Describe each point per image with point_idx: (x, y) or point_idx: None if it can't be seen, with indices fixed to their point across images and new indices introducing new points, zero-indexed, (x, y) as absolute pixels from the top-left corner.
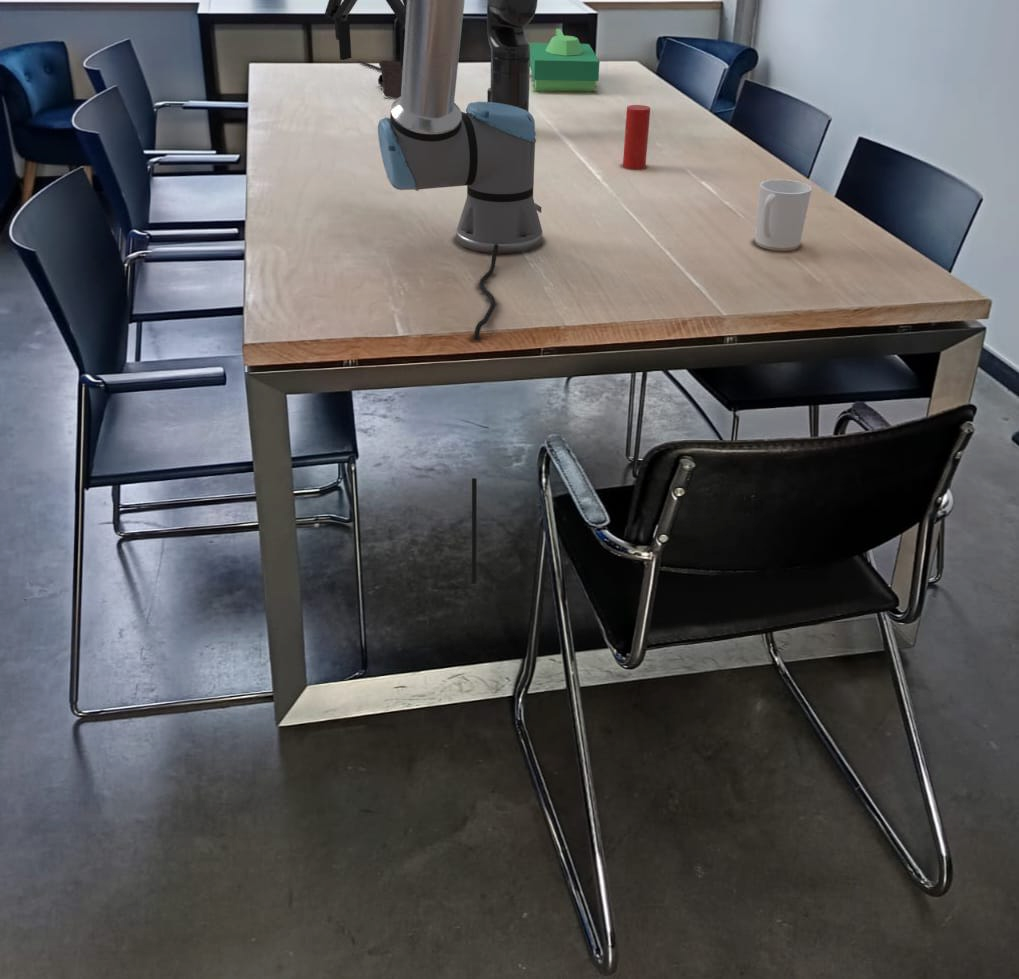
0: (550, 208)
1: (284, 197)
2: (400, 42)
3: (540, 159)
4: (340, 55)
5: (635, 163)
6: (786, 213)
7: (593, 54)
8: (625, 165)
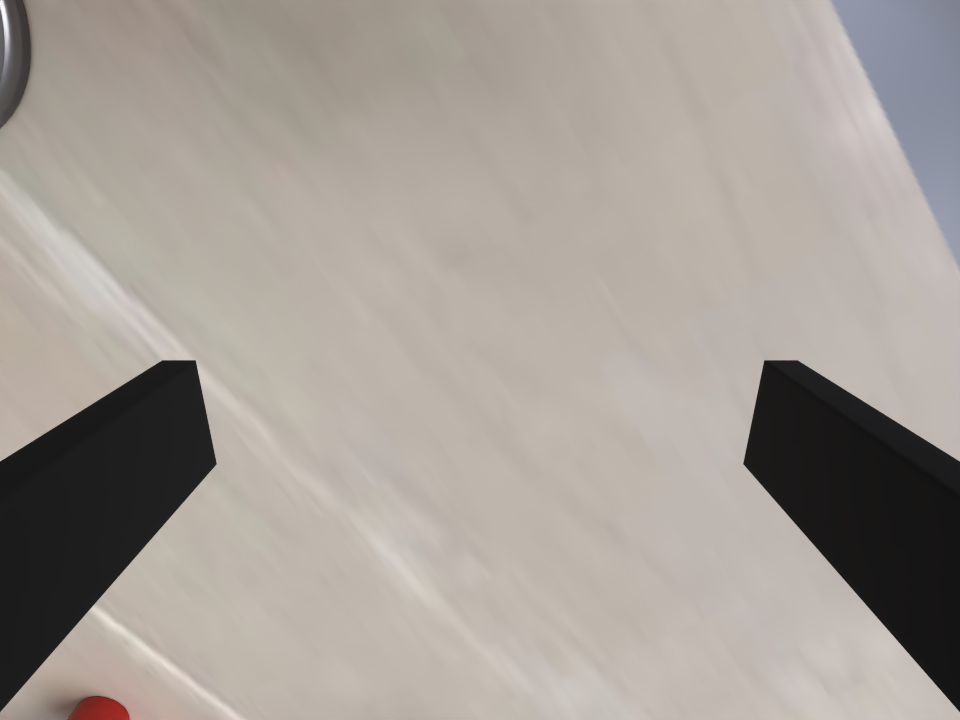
0: (18, 360)
1: (725, 36)
2: (47, 461)
3: (303, 674)
4: (810, 374)
5: (76, 711)
6: None
7: None
8: (106, 704)
